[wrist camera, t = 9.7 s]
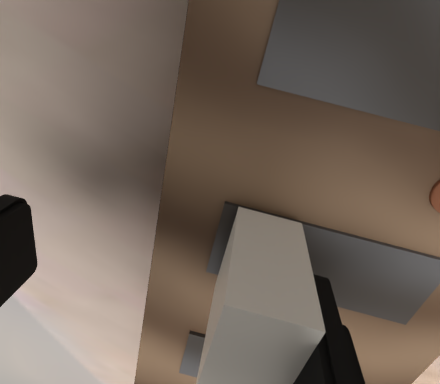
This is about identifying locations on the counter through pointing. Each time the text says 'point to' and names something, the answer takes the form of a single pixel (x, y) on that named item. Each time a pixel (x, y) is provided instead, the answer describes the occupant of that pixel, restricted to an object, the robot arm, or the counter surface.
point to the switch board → (305, 170)
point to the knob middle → (262, 305)
